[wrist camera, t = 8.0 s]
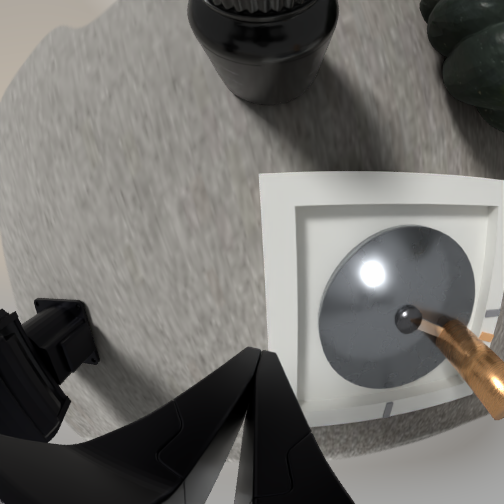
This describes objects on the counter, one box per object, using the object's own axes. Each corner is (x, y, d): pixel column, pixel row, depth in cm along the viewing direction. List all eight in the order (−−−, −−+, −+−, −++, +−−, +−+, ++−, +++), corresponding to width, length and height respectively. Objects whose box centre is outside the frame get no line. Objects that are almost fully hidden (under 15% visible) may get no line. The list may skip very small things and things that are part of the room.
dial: (414, 393, 21) (456, 473, 12) (287, 356, 21) (293, 464, 11) (490, 265, 18) (572, 311, 9) (369, 191, 18) (457, 208, 8)
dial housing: (272, 410, 24) (271, 430, 22) (260, 174, 19) (258, 173, 17) (462, 381, 23) (473, 395, 20) (496, 179, 18) (515, 181, 15)
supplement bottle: (277, 11, 16) (278, -104, 5) (336, 76, 17) (400, -19, 6) (199, 57, 17) (131, -41, 6) (255, 126, 19) (233, 56, 7)
